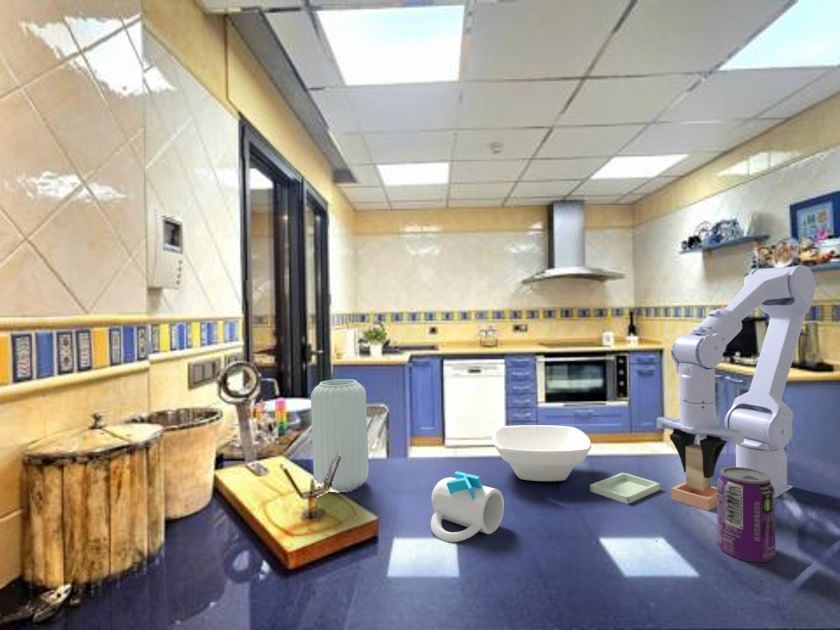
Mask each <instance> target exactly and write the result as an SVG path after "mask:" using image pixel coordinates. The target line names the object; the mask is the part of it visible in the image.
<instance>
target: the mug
mask: <svg viewBox="0 0 840 630" xmlns="http://www.w3.org/2000/svg"><path fill="white" fill-rule="evenodd" d="M454 475H455V476H454V477H451V476H450V477H445V478H442V479H441V480H439V481H438V482H437V483H436V485H434V488H433V490H432V493H431V498H430V499H431V506H432V509H433V514H432V517H431V520H430V530H431V531H432V534H433V535H434V536H435V537H436V538H437V539H439V540H441V539H442V540H441V541H443V540H445V541H444V542H448V541H449V542H448V543H453V542H454V543H456V542H457V543H458V542H462V541H465V540H467V539H469V538H471V537H473V536H474V535H476V534H477V533H478V532H480V533H483V534H486V535H491V534H493V533H494V532H495V531H496V530H498V529H499V526H500V524H501V522H502V520H503V516H504V510H505V501H504V496H503V494H502V491H501V490H500V489H498V488H493V487H489V486H485V485H483V484H482V481H481V477H480V476H479V475H474V474H471V473H466V472H462V471H457V470H456V471H455V472H454ZM442 520H445V521H448V522H451V523H454V524H457V525H459V526H462V527H466V528H465V529H464V530H461V531H457V532H455V531H454V532H451V531H448V530H445V529H444V528H443V525H442Z"/></svg>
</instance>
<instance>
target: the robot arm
mask: <svg viewBox="0 0 840 630" xmlns="http://www.w3.org/2000/svg"><path fill="white" fill-rule="evenodd" d="M816 290H817V282H816V279H815V276H814V273H813V271H812V270H811V269H810V267H809V266H807V265H805V264H799V265H794V266H784V267H769V268H758V267H757V268H753V269H752V270H751V271H749V273H748V274H747V275H746V276H745V277H744V280H743V287H742V288H741V289H740V290H739V291H738V293H737V294H735V296H734V297H733V298H732V300H731V301H730V302H729V303H728V304H727V305H726V307H725V308H716V309H711V310H710V311H709V312H708V313H707V314H708V316H707V317H705V318H704V319H703V320H702V321H701V322H700V323H699V324H698V325H697V326H695V327H694V328H693V330H692V331H691V332H690V333H689V334H683V335H680V336H679V337H678V338H677V339H676V340H675V341H674V343H673V345H672V349H670V356H671V358H672V360H673V362H674V364H675V371H676V373H677V375H678V386H679V387H678V388H679V418H675V417H667V416H665V417H664V416H659V417H657V418H656V429H661V430H662V429H666V430H670V431H672V433H671V434H669V439H670V440H671V442H672V444H673V445H674V447H675V449H676V451H677V453H678V456H679V459H680V462H681V465H682V469H683V473H686V448H685V447H686V446H688V445H691V444H693V443H694V444H695V441H696V436H700V437H701V436H702V437H705V438H703V439H699V445H701V449H702V454H703V472H704V477H705V478H710V477H711V478H712V477H714V474H715V470H716V465H717V463H718V460H719V457H720V455H721V453H722V451H723V450H724V448H725V446H726V445H727V442H731V443H732V444H735V467H744V468H750V469H755V470H758V471H762V472H764V473H766V474H768V475H769V476H770V477H771V480H770V482H771V484H772V486H773V488H774V490H775V499H776V498H777V497H779V496H780V495H782V494H784V493H785V492H787V491H788V490H791V489H792V488H794V486H793V485H790V484H788V471H787V470H788V468H787V467H788V465H787V464H788V457H787V453H786V452H785V448H786V447H787V445H788V444H789V443H790V441H791V439H792V438H793V431H794V430H793V418H794V412H793V411H792V410H791V408H790V407H789V406H788V405H787V404H786V403H785V402H784V401H783V400H782V399H783V395H784V391H785V388H786V386H787V385H786V384H787V380H788V377H789V374H790V371H791V367H792V363H793V360H794V357H795V352H796V351H797V350H796V349H797V346H798V343H799V338H800V335H801V331H802V329H803V325H804V322H805V317H806V314H807V313H809V312H810V309H811V306H812V303H813V299H814V295H815V293H816ZM757 308H759V309H760V310H761V312H762V313H765V314H767V315H768V316H769V319H770V320H769V323H768V326H767V329H766V332H765V336H764V339H763V343H762V347H761V350H760V354H759V357H758V360H757V363H756V367H755V370H754V372H753V373H754V374H753V377H752V380H751V384H750V387H749V389H748V391H747V392H745V393H742V394H741V395H739V396H737V397H735V398H734V400H733V404H732V405H731V408H730V409H729V410H728V411H727V413H726V415H725V418H724V425H720V424H716V382H715V381H716V376H715V375H716V374H715V370H716V369H715V367H717V366H718V365H720V364H721V362H722V359H723V354H724V352H725V351H726V348H727V345H728V344H729V343H730V342H731V341H733V339H734V338H735V337H736V336H737V335H738V334H739V333H740V332H741V331H742V329H743V323H742V321H743V320H744V319H745V318H746V317H748V316H749V315H750V314H751V313H753V311H755V310H756V309H757Z"/></svg>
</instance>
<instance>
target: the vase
mask: <svg viewBox="0 0 840 630" xmlns="http://www.w3.org/2000/svg"><path fill="white" fill-rule="evenodd" d="M366 391H367V390H366V389H365V386H364V385H362V384H361V383H359V382H358V381H357V380H355V379H347V378H343V379H341V378H340V379H328V380H324V381H320V382H319V384H318V385H316V386H315V387H314V388H313V390H312V391H311V394H310V411H311V413H310V414H311V437H312V440H311V441H312V464H313V465H312V466H313V469H312V470H313V479H314V481H315V480H316V481H317V483H320V484H322V483H323V481H324V479H325V477H326V475H327V473H328V471H329V468H330V465H331V462H332V460H333V458H334V456H335V454H336V453H337V452H339V453H340V455H341V460H340V462H339V465H338V468H337V470H336V473H335V475H334V478H333V481H332V488H333V489H336V490H339V491H343V490H347V491H348V490H352V489H354V488H357V487H359V486H360V487H361V486H362V485H364V484H365V482H366V481H367V479H368V477H369V473H370V472H369V468H370V467H369V466H370V465H369V446H368V445H369V444H368V443H369V440H368V414H367V410H368V409H367V392H366ZM360 487H359V488H360ZM357 489H358V488H357Z"/></svg>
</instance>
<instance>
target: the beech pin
mask: <svg viewBox="0 0 840 630" xmlns="http://www.w3.org/2000/svg"><path fill="white" fill-rule="evenodd" d="M685 448H686V472H685V482H686V487H689V488H692V489H696V490H699V491H705V490H707V489H709V488H711V486H712V477H710V478H705V477H704V472H703V454H702V449H701V445H700V443H699V444H698V443H695V442H694V443H693V444H691V445H688V446H686V447H685Z"/></svg>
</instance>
